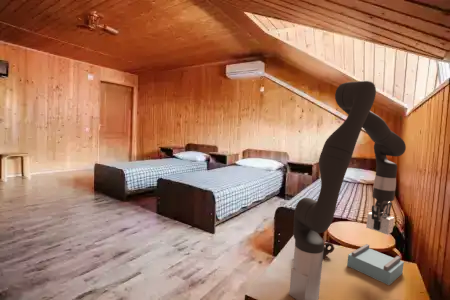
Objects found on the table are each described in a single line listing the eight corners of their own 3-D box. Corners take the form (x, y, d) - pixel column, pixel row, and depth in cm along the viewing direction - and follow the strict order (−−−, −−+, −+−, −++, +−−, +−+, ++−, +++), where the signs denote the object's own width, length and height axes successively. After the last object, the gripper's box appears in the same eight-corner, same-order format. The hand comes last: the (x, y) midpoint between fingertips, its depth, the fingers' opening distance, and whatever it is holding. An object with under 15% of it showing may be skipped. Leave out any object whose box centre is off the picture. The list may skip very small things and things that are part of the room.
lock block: (387, 234, 102) (389, 219, 101) (366, 227, 108) (367, 213, 107) (392, 231, 105) (394, 217, 104) (371, 225, 111) (372, 211, 110)
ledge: (389, 285, 97) (391, 268, 97) (347, 265, 110) (348, 251, 109) (402, 273, 106) (404, 258, 106) (362, 256, 119) (363, 242, 118)
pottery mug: (307, 258, 115) (304, 238, 119) (309, 258, 123) (306, 240, 127) (336, 257, 111) (332, 237, 115) (336, 257, 119) (332, 238, 123)
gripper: (387, 191, 97) (382, 235, 99) (401, 187, 106) (396, 227, 108) (366, 187, 103) (361, 228, 105) (381, 183, 112) (376, 221, 114)
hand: (379, 228), depth 106 cm, fingers closed on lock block, 5 cm apart
